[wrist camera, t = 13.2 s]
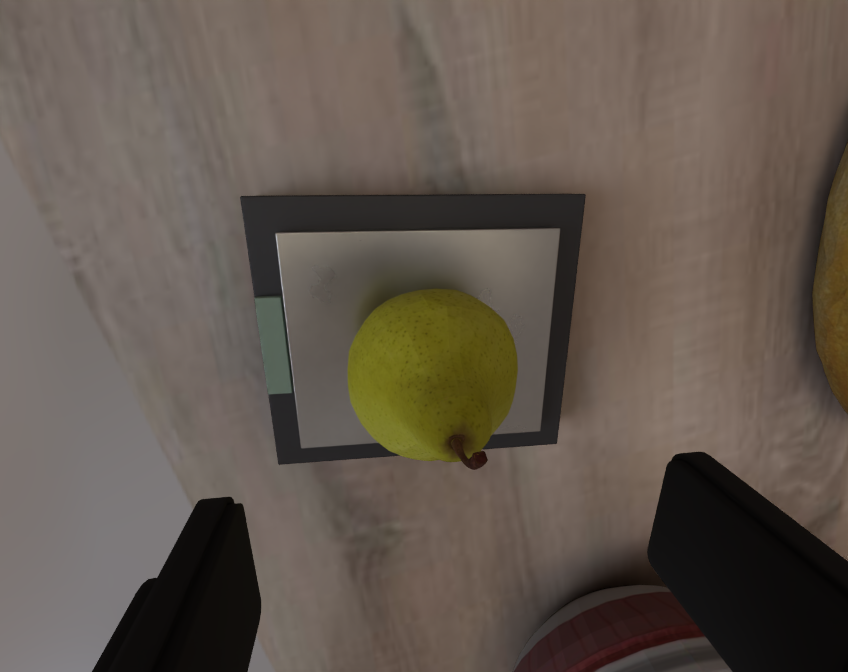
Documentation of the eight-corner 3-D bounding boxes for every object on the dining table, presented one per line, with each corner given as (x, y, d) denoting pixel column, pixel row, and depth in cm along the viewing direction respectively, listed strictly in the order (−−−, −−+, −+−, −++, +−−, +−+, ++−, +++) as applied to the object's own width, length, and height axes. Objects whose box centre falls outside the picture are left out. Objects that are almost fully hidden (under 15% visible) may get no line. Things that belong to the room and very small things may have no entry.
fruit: (480, 406, 22) (594, 630, 11) (350, 404, 21) (324, 647, 10) (498, 277, 20) (664, 390, 9) (353, 269, 19) (325, 383, 8)
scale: (286, 440, 25) (276, 469, 22) (254, 195, 20) (236, 196, 18) (541, 422, 27) (560, 447, 24) (564, 193, 22) (590, 193, 20)
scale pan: (303, 440, 22) (300, 448, 22) (278, 230, 19) (274, 232, 18) (535, 424, 24) (540, 431, 23) (553, 226, 20) (561, 227, 19)
